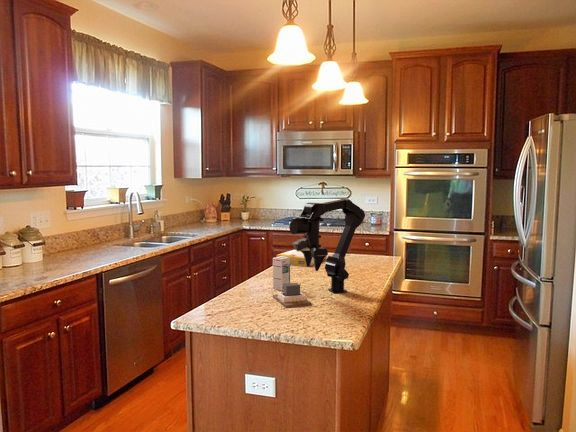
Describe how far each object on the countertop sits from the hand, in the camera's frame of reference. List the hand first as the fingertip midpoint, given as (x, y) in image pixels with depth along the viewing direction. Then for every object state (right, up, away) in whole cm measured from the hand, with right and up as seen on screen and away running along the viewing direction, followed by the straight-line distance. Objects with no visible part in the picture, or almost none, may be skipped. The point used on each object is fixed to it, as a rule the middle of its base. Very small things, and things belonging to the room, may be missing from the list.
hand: (312, 268), depth 199 cm
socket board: (-9, -13, -6) cm, 17 cm away
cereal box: (-2, -5, +79) cm, 79 cm away
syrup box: (-13, -11, +14) cm, 22 cm away
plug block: (-9, -12, -6) cm, 16 cm away
